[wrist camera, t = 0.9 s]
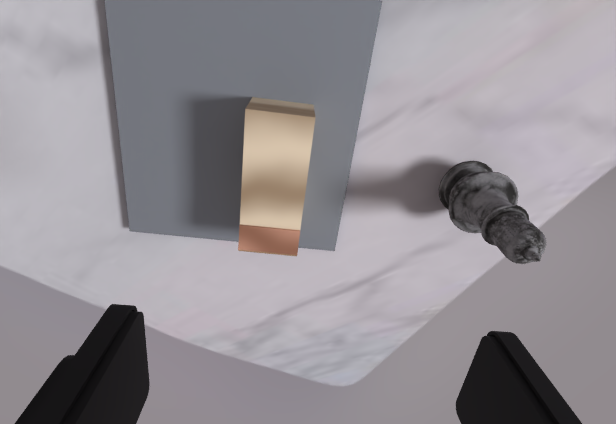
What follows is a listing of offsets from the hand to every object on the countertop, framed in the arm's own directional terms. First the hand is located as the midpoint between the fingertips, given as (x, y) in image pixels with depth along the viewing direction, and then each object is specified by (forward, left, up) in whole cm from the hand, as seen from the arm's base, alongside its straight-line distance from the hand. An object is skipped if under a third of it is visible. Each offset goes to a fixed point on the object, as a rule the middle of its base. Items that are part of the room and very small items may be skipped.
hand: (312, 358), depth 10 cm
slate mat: (+1, -5, -25) cm, 25 cm away
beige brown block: (+4, -2, -24) cm, 24 cm away
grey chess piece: (+4, +16, -25) cm, 30 cm away
